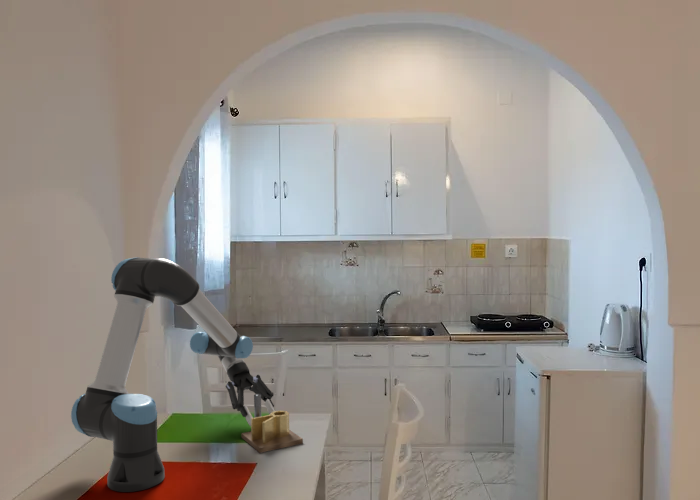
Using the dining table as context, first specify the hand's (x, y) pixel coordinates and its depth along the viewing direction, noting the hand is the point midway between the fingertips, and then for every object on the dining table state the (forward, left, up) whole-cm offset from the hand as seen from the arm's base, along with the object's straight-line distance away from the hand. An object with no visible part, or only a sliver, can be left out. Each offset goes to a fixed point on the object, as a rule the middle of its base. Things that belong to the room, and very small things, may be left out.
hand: (263, 420), depth 207 cm
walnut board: (-1, -10, -4) cm, 11 cm away
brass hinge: (-2, -11, -2) cm, 12 cm away
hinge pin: (-1, +3, -4) cm, 5 cm away
